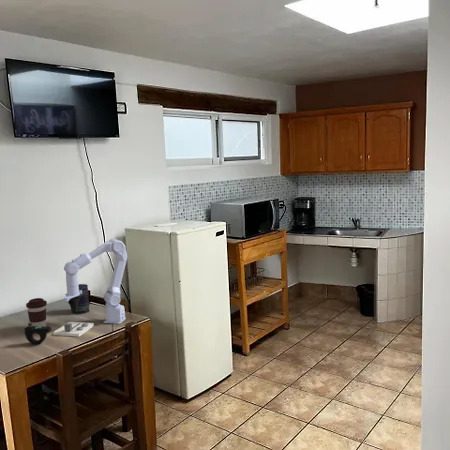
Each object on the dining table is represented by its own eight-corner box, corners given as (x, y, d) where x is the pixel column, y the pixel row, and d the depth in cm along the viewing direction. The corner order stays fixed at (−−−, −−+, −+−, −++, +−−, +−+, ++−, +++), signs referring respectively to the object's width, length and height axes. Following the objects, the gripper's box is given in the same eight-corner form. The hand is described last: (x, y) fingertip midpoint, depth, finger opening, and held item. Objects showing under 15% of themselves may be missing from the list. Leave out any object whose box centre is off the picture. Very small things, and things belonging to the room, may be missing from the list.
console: (93, 325, 240) (93, 321, 240) (79, 336, 226) (78, 332, 225) (69, 324, 243) (69, 320, 243) (53, 335, 228) (53, 330, 228)
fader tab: (72, 330, 230) (71, 323, 229) (70, 331, 228) (69, 324, 227) (66, 329, 230) (66, 323, 230) (64, 331, 228) (64, 324, 228)
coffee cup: (42, 322, 247) (40, 295, 244) (52, 326, 240) (50, 299, 238) (24, 328, 239) (22, 300, 237) (34, 332, 233) (31, 303, 231)
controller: (27, 341, 221) (25, 321, 219) (53, 341, 221) (52, 321, 219) (24, 345, 216) (22, 325, 215) (50, 344, 216) (48, 324, 215)
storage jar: (70, 310, 266) (68, 285, 264) (88, 307, 270) (86, 283, 268) (72, 315, 257) (70, 289, 255) (90, 312, 261) (89, 287, 259)
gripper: (72, 281, 241) (74, 306, 243) (57, 289, 227) (59, 315, 229) (85, 281, 240) (86, 307, 242) (70, 289, 226) (72, 316, 228)
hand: (74, 311), depth 235 cm, fingers closed
